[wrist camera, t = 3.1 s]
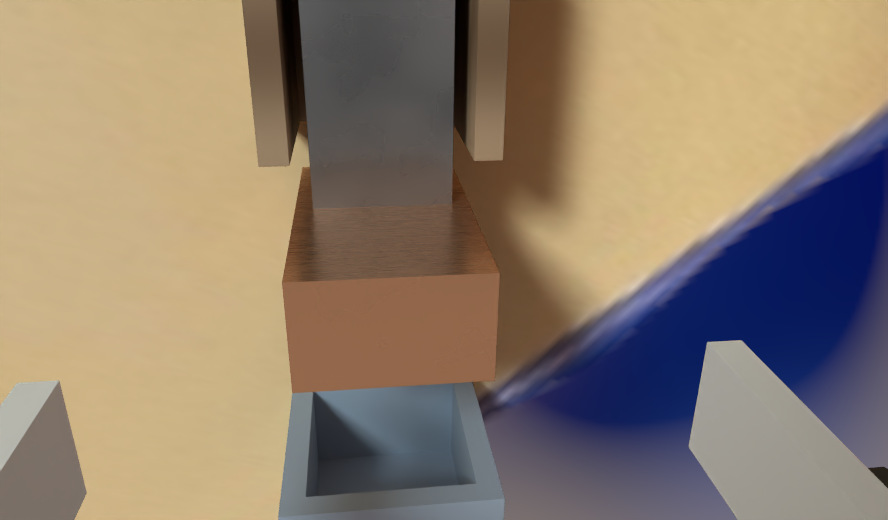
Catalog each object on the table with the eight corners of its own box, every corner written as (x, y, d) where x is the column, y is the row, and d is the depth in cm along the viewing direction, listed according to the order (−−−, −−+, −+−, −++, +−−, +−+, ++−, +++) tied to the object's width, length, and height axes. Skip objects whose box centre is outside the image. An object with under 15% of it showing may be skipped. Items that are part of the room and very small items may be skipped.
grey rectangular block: (293, 384, 29) (278, 517, 23) (470, 373, 30) (504, 498, 23) (302, 480, 31) (290, 629, 25) (467, 468, 32) (498, 608, 26)
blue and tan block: (282, -104, 21) (244, -123, 13) (454, -101, 21) (518, -118, 14) (314, 321, 27) (301, 485, 19) (448, 314, 27) (491, 471, 19)
